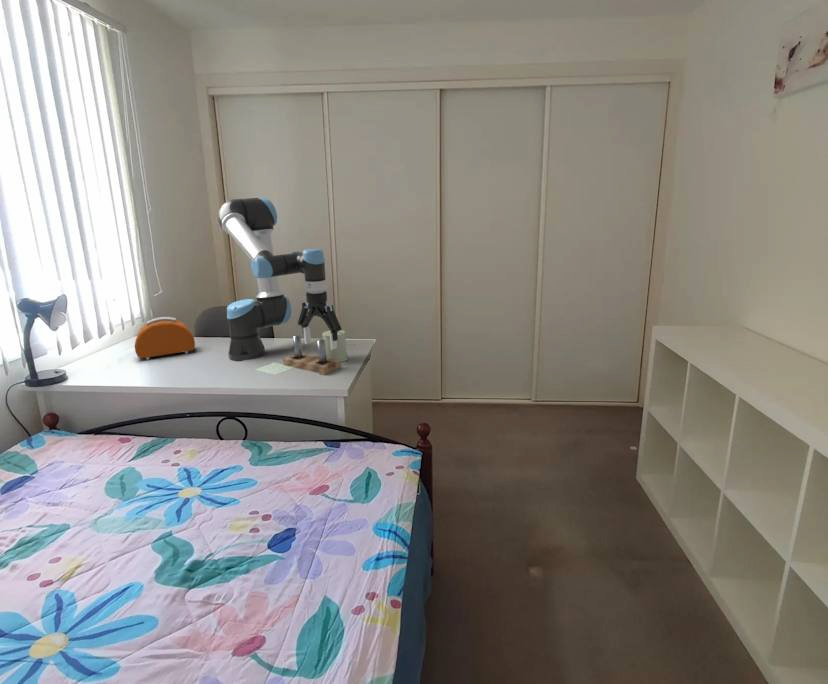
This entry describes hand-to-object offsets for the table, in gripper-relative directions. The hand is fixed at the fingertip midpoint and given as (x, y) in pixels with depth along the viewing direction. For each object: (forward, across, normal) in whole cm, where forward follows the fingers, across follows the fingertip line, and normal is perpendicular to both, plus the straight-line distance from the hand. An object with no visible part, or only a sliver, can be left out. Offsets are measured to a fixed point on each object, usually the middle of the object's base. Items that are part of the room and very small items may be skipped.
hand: (320, 345), depth 199 cm
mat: (+10, -17, -9) cm, 22 cm away
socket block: (+10, -6, 0) cm, 11 cm away
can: (+10, -3, +11) cm, 15 cm away
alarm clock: (+11, -76, -18) cm, 79 cm away
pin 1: (+10, -12, 0) cm, 16 cm away
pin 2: (+9, +1, 0) cm, 9 cm away
